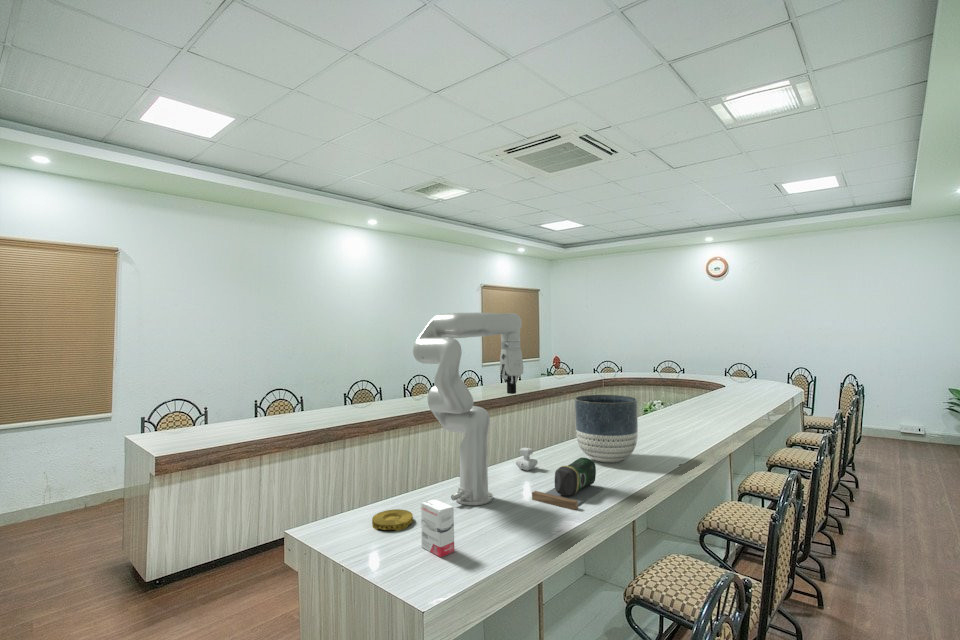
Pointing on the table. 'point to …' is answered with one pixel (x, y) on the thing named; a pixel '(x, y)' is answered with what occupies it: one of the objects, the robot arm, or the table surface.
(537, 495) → the rail
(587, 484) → the coffee jar
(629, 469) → the table surface
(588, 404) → the planter
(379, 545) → the table surface
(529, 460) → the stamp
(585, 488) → the mat
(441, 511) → the ink box
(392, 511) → the golden flat disc
